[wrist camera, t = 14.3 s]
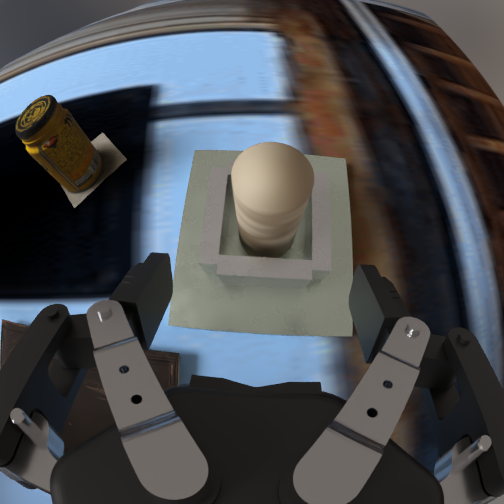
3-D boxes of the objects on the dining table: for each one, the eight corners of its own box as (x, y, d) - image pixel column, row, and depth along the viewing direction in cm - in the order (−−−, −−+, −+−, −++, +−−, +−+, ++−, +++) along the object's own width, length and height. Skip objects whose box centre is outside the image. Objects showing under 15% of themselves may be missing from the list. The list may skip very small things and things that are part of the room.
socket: (172, 325, 26) (152, 321, 21) (196, 156, 31) (187, 126, 26) (348, 336, 25) (368, 334, 20) (342, 164, 30) (355, 135, 25)
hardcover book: (14, 321, 26) (1, 319, 24) (184, 352, 26) (178, 353, 23) (17, 439, 22) (6, 442, 19) (184, 497, 21) (178, 508, 19)
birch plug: (236, 257, 26) (226, 208, 17) (241, 206, 28) (235, 139, 18) (293, 262, 26) (314, 215, 16) (294, 210, 28) (313, 145, 18)
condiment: (56, 176, 31) (4, 123, 20) (103, 133, 33) (64, 70, 22) (75, 209, 30) (14, 154, 18) (128, 161, 31) (84, 90, 20)
